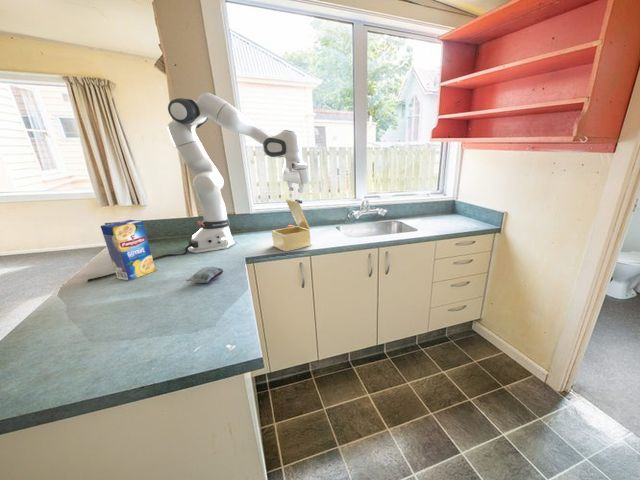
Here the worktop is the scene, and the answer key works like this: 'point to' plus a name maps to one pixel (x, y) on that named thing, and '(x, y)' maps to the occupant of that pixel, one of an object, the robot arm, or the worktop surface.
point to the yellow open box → (291, 238)
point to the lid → (297, 213)
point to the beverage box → (128, 249)
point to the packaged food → (206, 275)
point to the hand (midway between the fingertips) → (295, 191)
